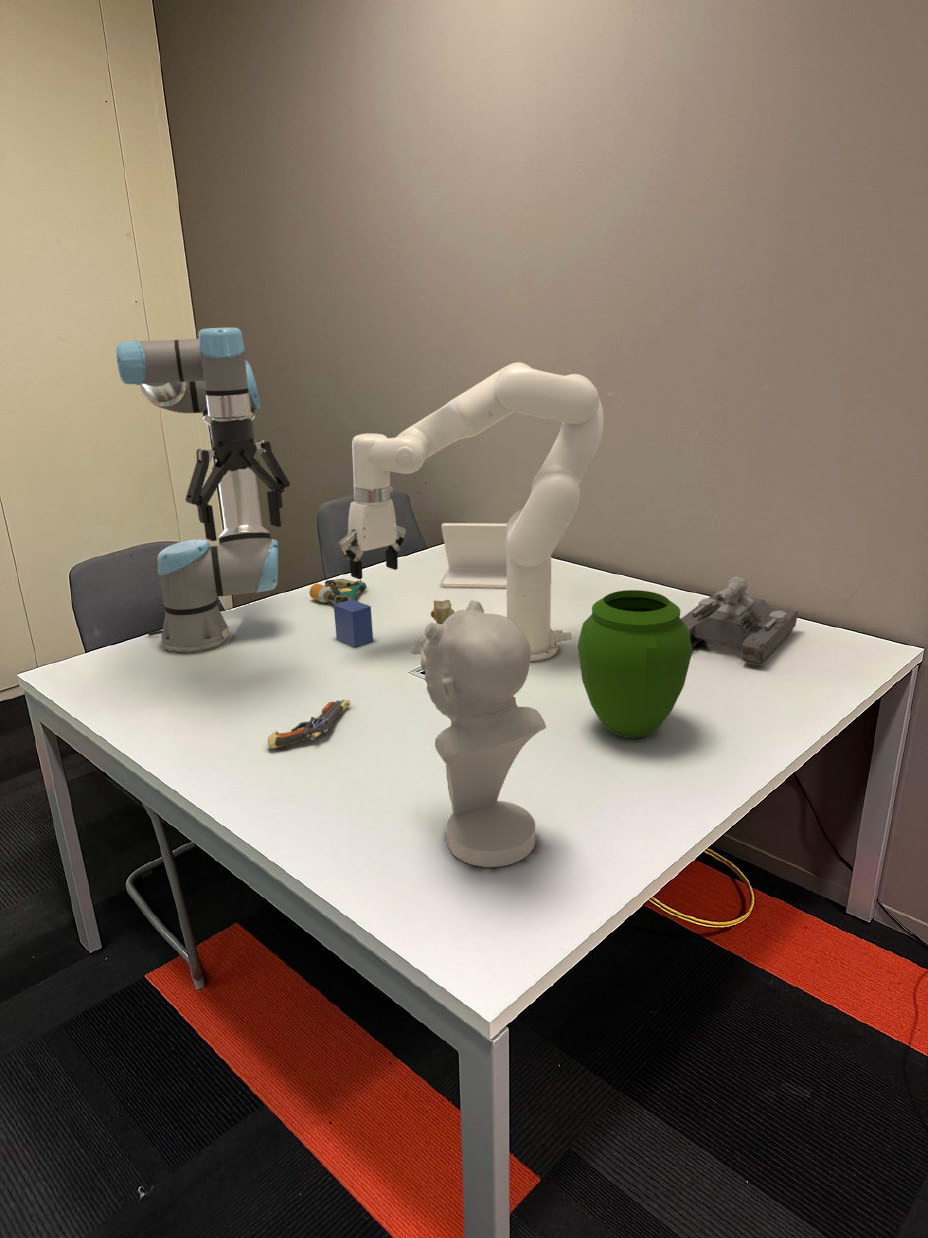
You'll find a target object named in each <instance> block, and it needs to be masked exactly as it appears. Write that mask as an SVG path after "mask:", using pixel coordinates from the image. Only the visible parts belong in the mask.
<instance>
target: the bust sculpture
mask: <svg viewBox="0 0 928 1238" xmlns="http://www.w3.org/2000/svg"><path fill="white" fill-rule="evenodd" d="M454 612H455V613H453V614H452V615H451V616H450V617H448V618H447V619H446V620H445V622H444V623H443V624H436V623H435V622H430V623H428V624H427V625H426V626H425V628H424V632H423V633H421V634H419V635H418V636H417V637H416V638H415V640H414V642H413V645H412V647H411V649H410V654H412V655H420V667H421V669H422V670H423V672H424V681H425V682H426V690H427V693H428V696H429V698H430V701H431V702H432V704H434V706H435V708H436V710H438V711H439V712H440V713H441V714H442V716H446V717H447V718H448V719H449V720H450V726H448V727H446V728H445V729H443V730H442V731H441V732H440V733H439V734H438V735H436V738H435V741H434V748H435V749H436V752H437V753H438V755H439V757H440V758H441V760H442V761H443V762H444V763H445V771H446V781H447V790H448V796H449V800H450V803H451V810H452V813H451V814H450V815H449V817H448V819H447V822H446V844H447V847H448V849H449V851H450V852H451V854H452V855H453V856H454V857H456V858H457V859H459V860H460V861H462V862H463V863H466V864H469V865H471V866H476V867H483V868H498V867H505V866H509V865H512V864H517V862H520V861H521V860H523V859H525V858H527V856H528V855H530V854H531V852H532V851H533V849H535V848H534V847H535V845H536V822H535V821H536V820H535V819H534V817H533V816H532V814H531V813H530V812H529V811H528V810H526V809H525V808H524V807H522V806H520V805H517V804H515V803H513V802H509V801H504V800H499V796H500V793H501V790H502V788H503V785H504V783H505V780H506V778H507V776H508V773H509V771H510V769H511V768H512V765H513V763H514V761H515V760H516V759H517V756H518V755H519V753H520V752H521V750H522V749H523V748H524V747H525V745H526V744H527V743H528V742H529V741H530V740H531V739H532V738H533V737H535V735H537V734H538V733H539V732H541V731H544V730H545V729H546V728H547V725H546V723H545V720H544V718H543V717H542V714H541V713H540V712H539V711H538V710H537V709H535V708H533V707H530V706H518V705H517V701H516V699H517V698H516V696H515V695H516V694H517V693H519V691H521V689H522V688H523V686H524V684H525V683H526V680H527V678H528V675H529V669H530V666H531V661H530V656H531V655H530V653H531V652H530V646H529V643H528V640H527V638H526V636H525V634H524V633H523V632H522V630H521V629H520V628H519V627H518V626H517V625H516V624H515V623H514V622H513V621H512V620H511V619H509V618H507V616H504V615H503V614H502V615H501V614H496V613H485V609H484V607H483V605H482V603H481V602H480V601H478V600H473V599H472V600H470V601H469V603H468V605H467V607H466V609H460V610H457V611H454Z"/></svg>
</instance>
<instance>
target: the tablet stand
mask: <svg viewBox="0 0 928 1238" xmlns="http://www.w3.org/2000/svg"><path fill="white" fill-rule="evenodd" d="M506 527H507V523H490V522H489V523H482V522H480V523H479V522H470V523H469V522H462V523H461V522H443V523H442V524H441V533H442V538H443V543H444V548H445V549H444V550H445V554H446V558H447V565H448V571H447V573H446V575H445V576H444V579H443V580H442V587H445V588H450V587H451V588H490V589H491V588H492V589H494V588H495V589H497V588H498V589H502V588H503V589H507V559H506Z"/></svg>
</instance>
